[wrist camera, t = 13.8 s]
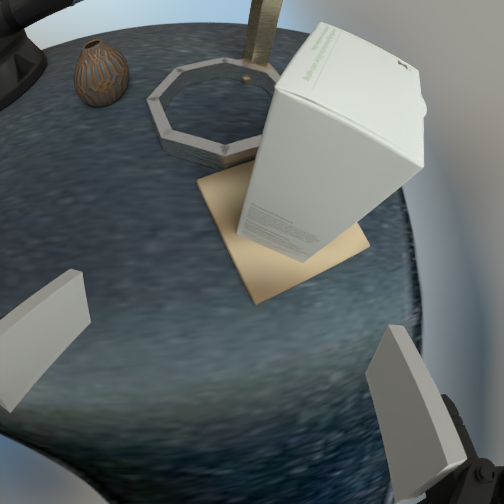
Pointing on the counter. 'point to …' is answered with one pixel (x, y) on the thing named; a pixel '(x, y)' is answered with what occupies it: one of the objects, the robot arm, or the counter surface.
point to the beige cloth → (257, 256)
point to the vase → (100, 74)
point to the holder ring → (244, 70)
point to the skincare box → (332, 143)
